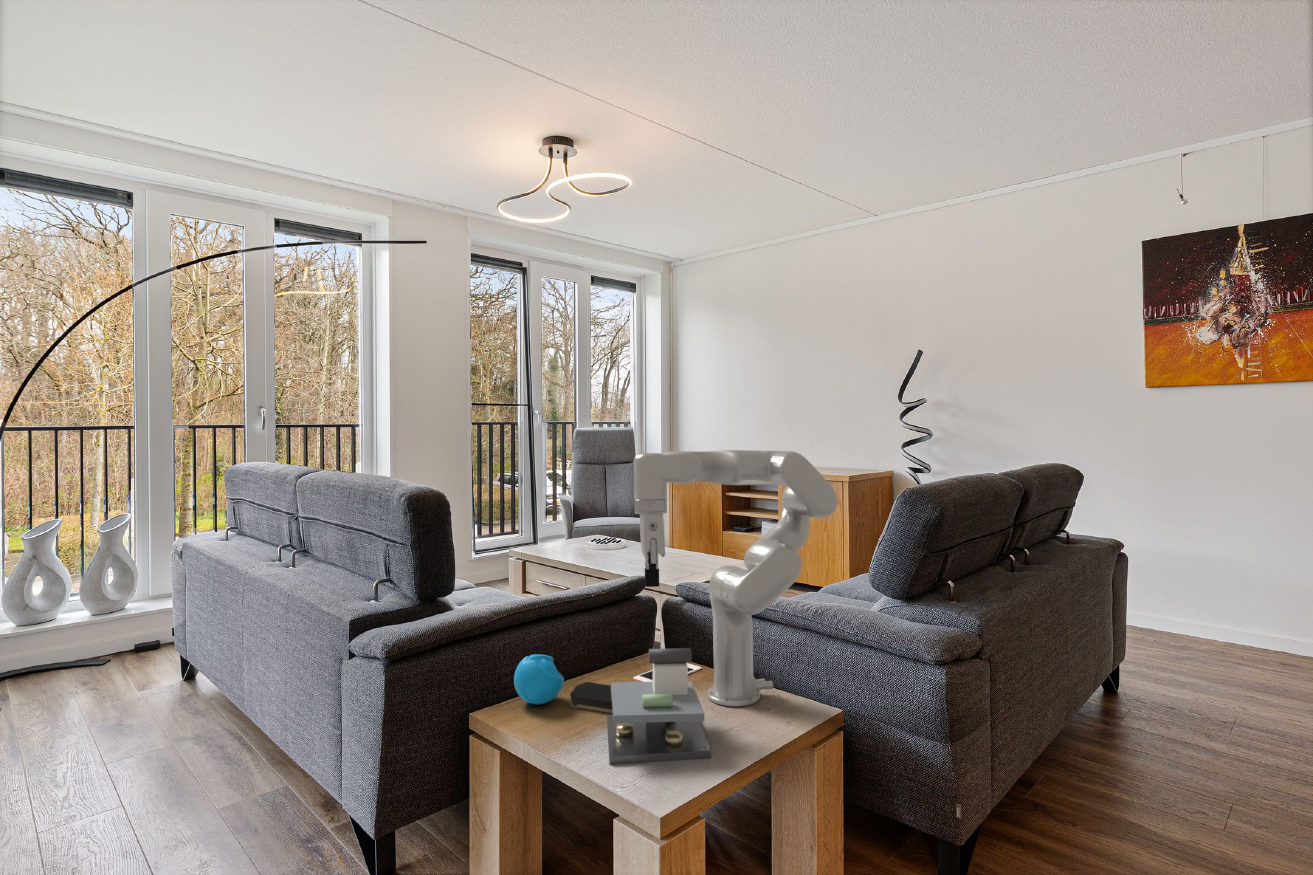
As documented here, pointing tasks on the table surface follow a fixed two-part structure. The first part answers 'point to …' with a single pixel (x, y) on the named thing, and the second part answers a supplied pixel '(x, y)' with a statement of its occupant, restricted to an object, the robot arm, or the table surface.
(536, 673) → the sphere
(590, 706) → the black sponge
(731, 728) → the table surface
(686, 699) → the plate
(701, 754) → the levelling stand
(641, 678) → the cell phone
